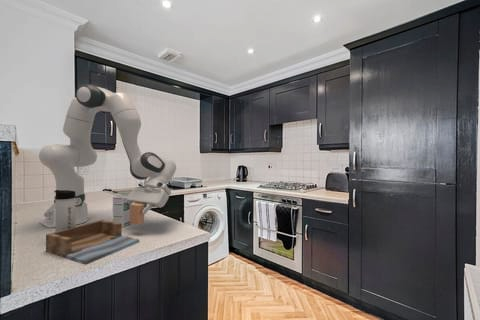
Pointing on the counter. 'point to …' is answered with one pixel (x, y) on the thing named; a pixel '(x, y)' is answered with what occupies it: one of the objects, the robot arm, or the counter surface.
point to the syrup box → (121, 210)
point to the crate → (88, 241)
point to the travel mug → (64, 209)
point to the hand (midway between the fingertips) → (136, 212)
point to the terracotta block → (136, 213)
